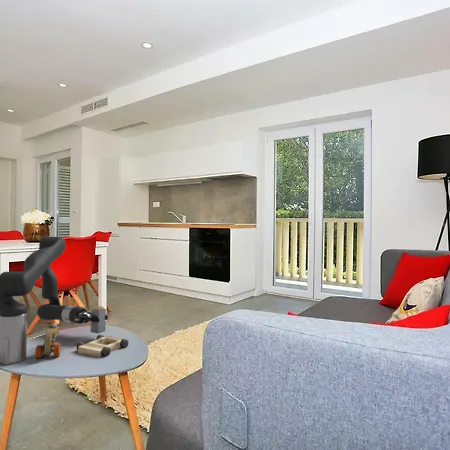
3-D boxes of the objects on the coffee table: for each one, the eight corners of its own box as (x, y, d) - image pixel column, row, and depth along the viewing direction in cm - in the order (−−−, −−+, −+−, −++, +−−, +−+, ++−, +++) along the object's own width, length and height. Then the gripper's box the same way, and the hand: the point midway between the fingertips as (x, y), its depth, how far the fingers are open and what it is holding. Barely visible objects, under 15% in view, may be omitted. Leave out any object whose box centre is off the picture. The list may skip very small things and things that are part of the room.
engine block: (98, 333, 156) (98, 308, 156) (90, 332, 158) (91, 307, 158) (105, 330, 160) (106, 306, 161) (97, 329, 162) (98, 305, 162)
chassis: (103, 358, 137) (103, 349, 137) (74, 352, 143) (74, 344, 143) (129, 345, 151) (129, 338, 151) (102, 340, 157) (103, 333, 157)
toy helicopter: (34, 361, 132) (34, 324, 132) (45, 343, 152) (45, 311, 152) (58, 359, 135) (58, 323, 135) (65, 342, 154) (66, 310, 155)
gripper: (62, 309, 158) (91, 313, 152) (86, 303, 172) (114, 307, 165) (61, 326, 158) (91, 331, 152) (85, 319, 171) (113, 323, 165)
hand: (103, 318), depth 158 cm, fingers closed on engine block, 4 cm apart
